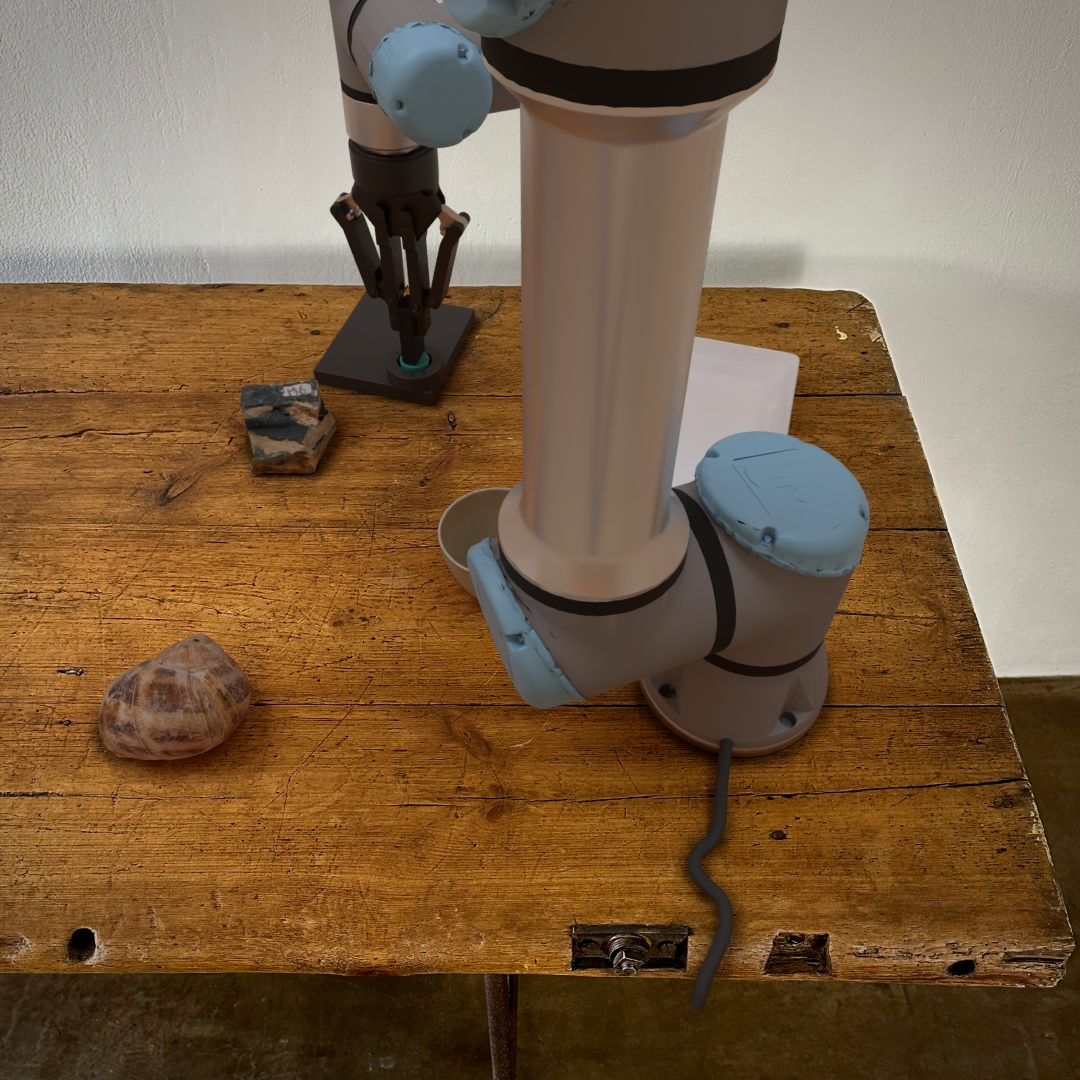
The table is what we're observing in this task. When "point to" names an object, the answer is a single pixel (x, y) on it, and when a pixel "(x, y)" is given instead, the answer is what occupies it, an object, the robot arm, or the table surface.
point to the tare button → (420, 366)
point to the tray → (732, 397)
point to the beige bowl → (469, 529)
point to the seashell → (175, 702)
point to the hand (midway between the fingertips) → (413, 355)
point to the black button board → (392, 352)
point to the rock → (286, 426)
